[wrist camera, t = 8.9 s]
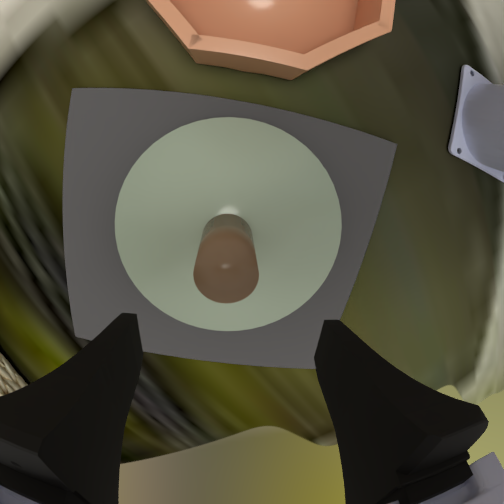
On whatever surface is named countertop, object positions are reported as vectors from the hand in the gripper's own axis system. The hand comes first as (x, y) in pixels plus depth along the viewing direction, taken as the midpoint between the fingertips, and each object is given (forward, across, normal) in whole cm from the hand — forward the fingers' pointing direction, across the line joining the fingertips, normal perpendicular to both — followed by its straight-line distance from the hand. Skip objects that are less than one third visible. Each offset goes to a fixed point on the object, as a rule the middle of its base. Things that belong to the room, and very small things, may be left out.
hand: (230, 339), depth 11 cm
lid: (+10, 0, 0) cm, 10 cm away
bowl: (+10, -1, -18) cm, 21 cm away
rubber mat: (+10, +1, +1) cm, 11 cm away
